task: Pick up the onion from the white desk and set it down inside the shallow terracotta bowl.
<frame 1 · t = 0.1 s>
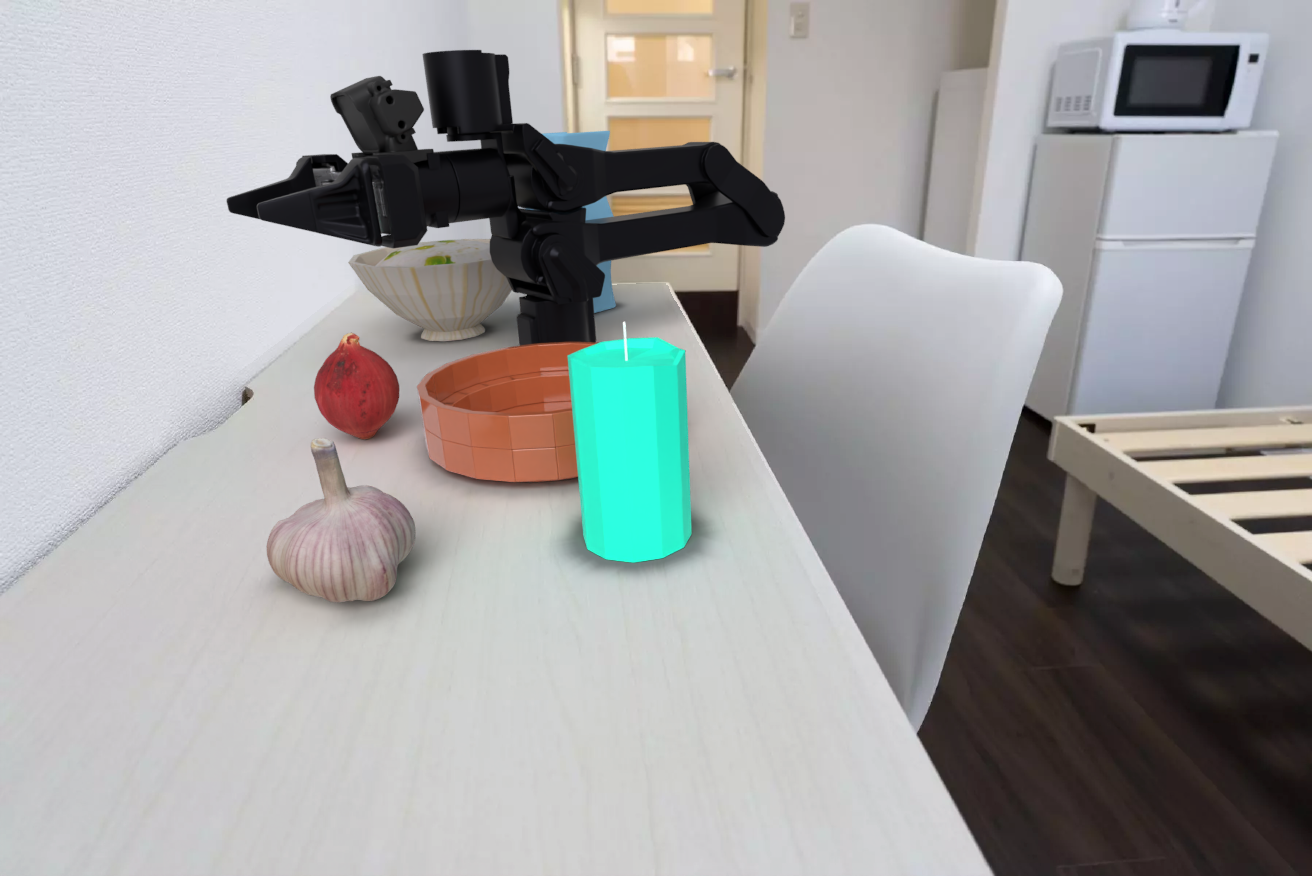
hand: (242, 208, 60), 17 cm above the table, tool horizontal, fingers open, 9 cm apart
onion: (366, 441, 62), on the table
vase: (575, 310, 101), on the table
garlic bulb: (349, 585, 43), on the table
bowl: (453, 334, 92), on the table
terracotta bowl: (550, 440, 60), on the table
candle: (637, 538, 46), on the table
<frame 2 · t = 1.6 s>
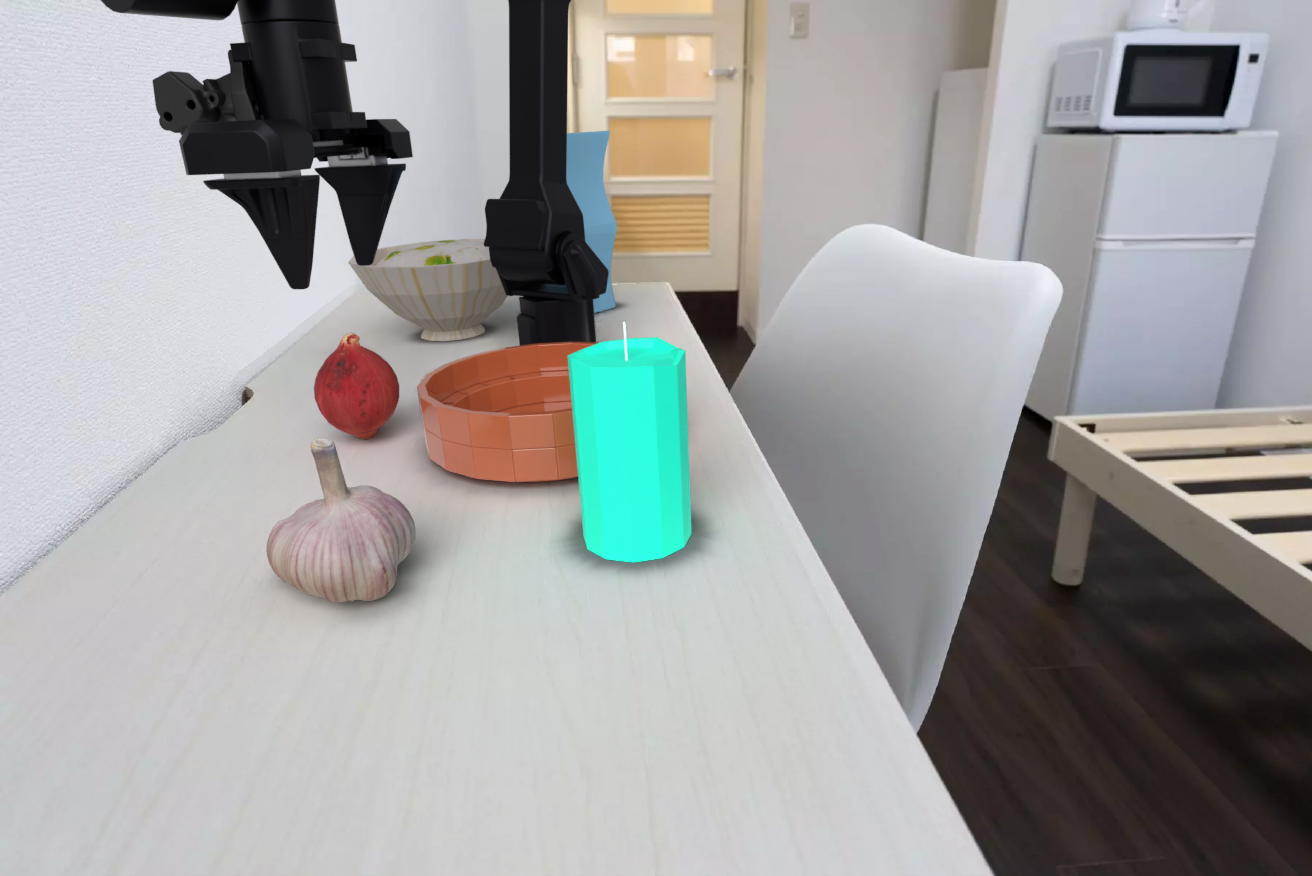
hand: (335, 276, 58), 12 cm above the table, tool pointing down, fingers open, 9 cm apart
nothing on the table moved.
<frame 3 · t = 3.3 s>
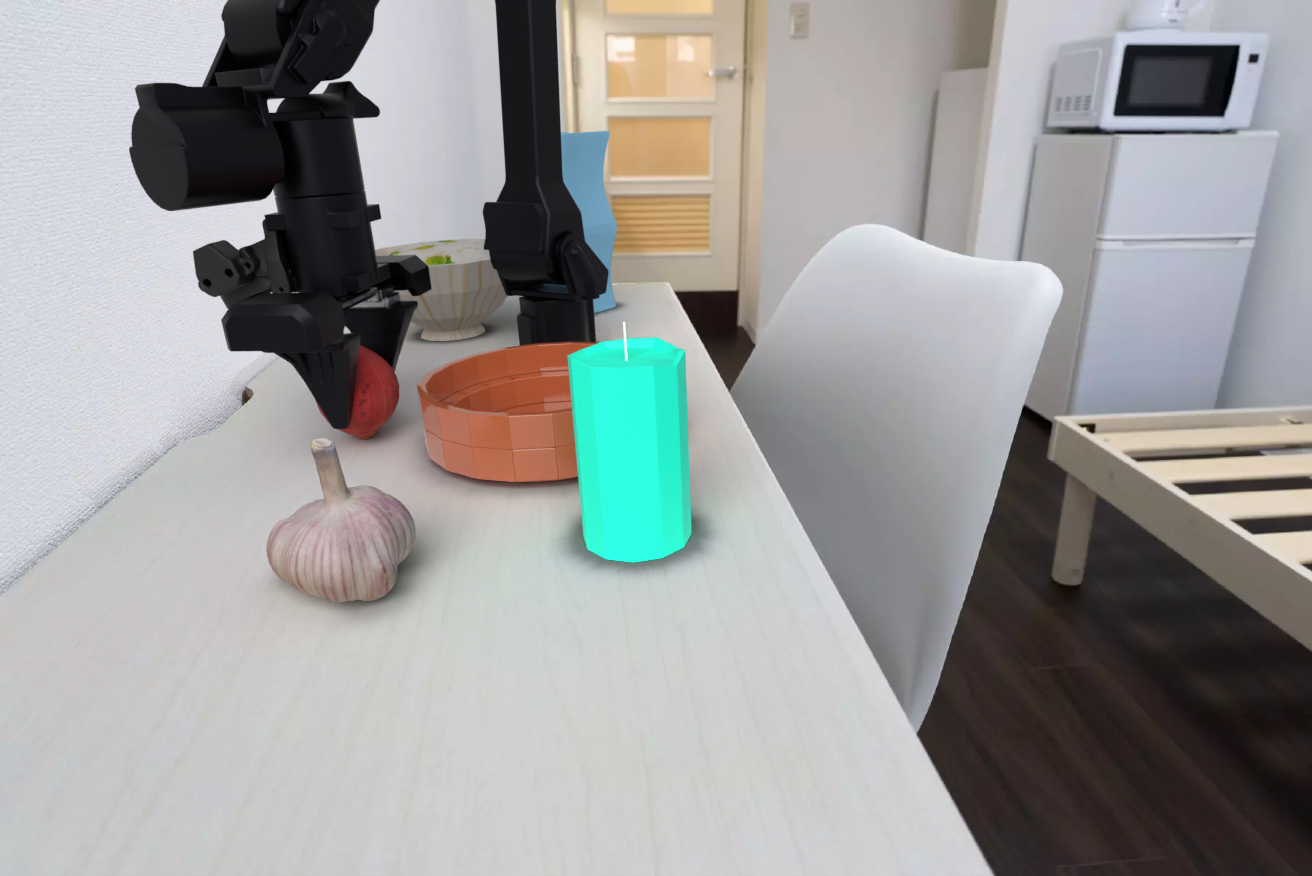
hand: (361, 413, 61), 2 cm above the table, tool pointing down, fingers closed on onion, 6 cm apart
onion: (366, 441, 62), on the table, touching gripper
everything else where it was.
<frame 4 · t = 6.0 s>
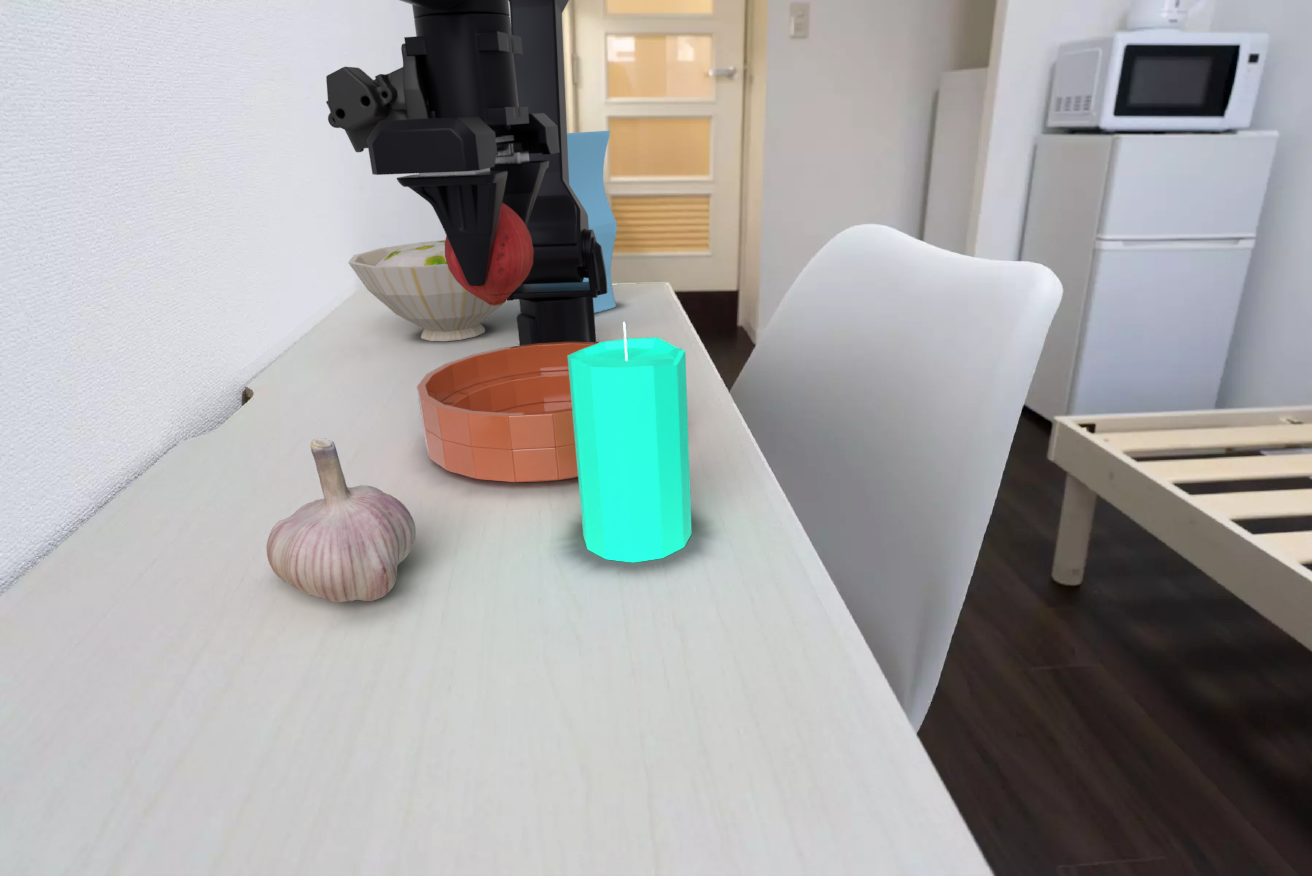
hand: (492, 276, 56), 12 cm above the table, tool pointing down, fingers closed on onion, 6 cm apart
onion: (496, 308, 57), point 10 cm above the table, touching gripper
everything else where it was.
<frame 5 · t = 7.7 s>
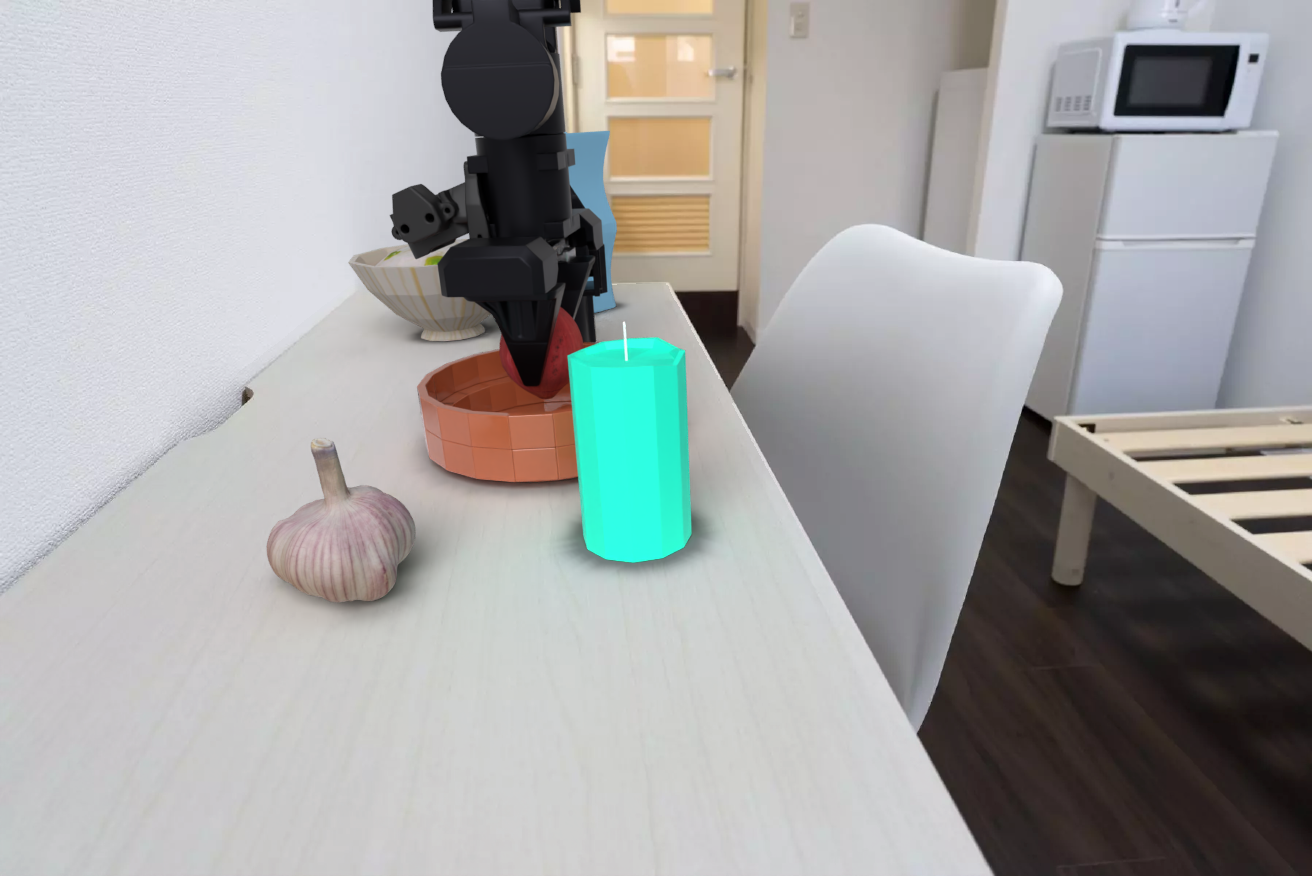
hand: (543, 371, 58), 5 cm above the table, tool pointing down, fingers closed on onion, 6 cm apart
onion: (546, 402, 59), point 3 cm above the table, touching gripper
everything else where it was.
when the fingers open (3 cm above the table, at t = 9.0 s): onion stays where it is, resting on terracotta bowl.
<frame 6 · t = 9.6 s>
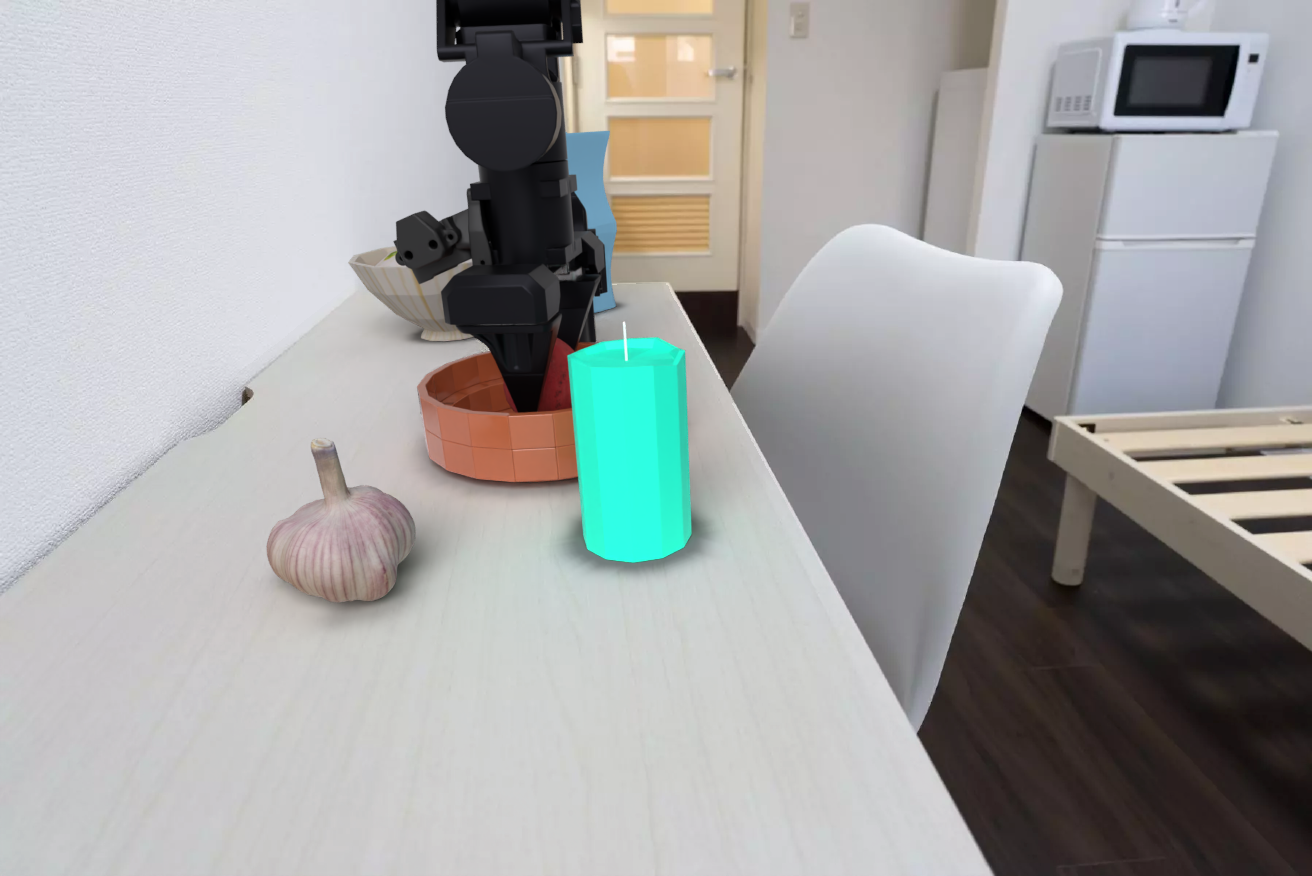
hand: (545, 394, 59), 3 cm above the table, tool pointing down, fingers open, 9 cm apart
onion: (550, 434, 60), resting on terracotta bowl
everything else where it was.
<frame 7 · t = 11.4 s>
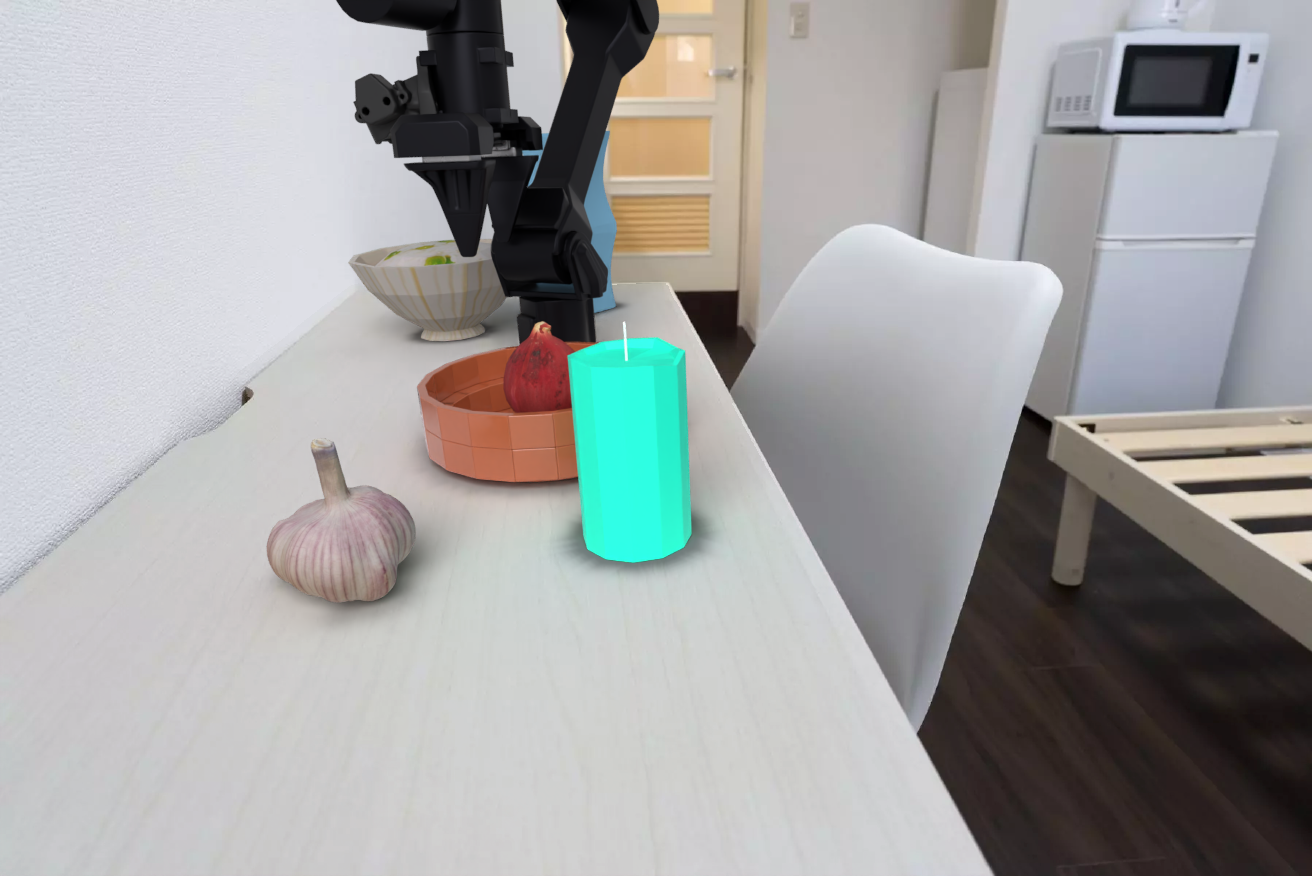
hand: (487, 249, 68), 12 cm above the table, tool pointing down, fingers open, 9 cm apart
nothing on the table moved.
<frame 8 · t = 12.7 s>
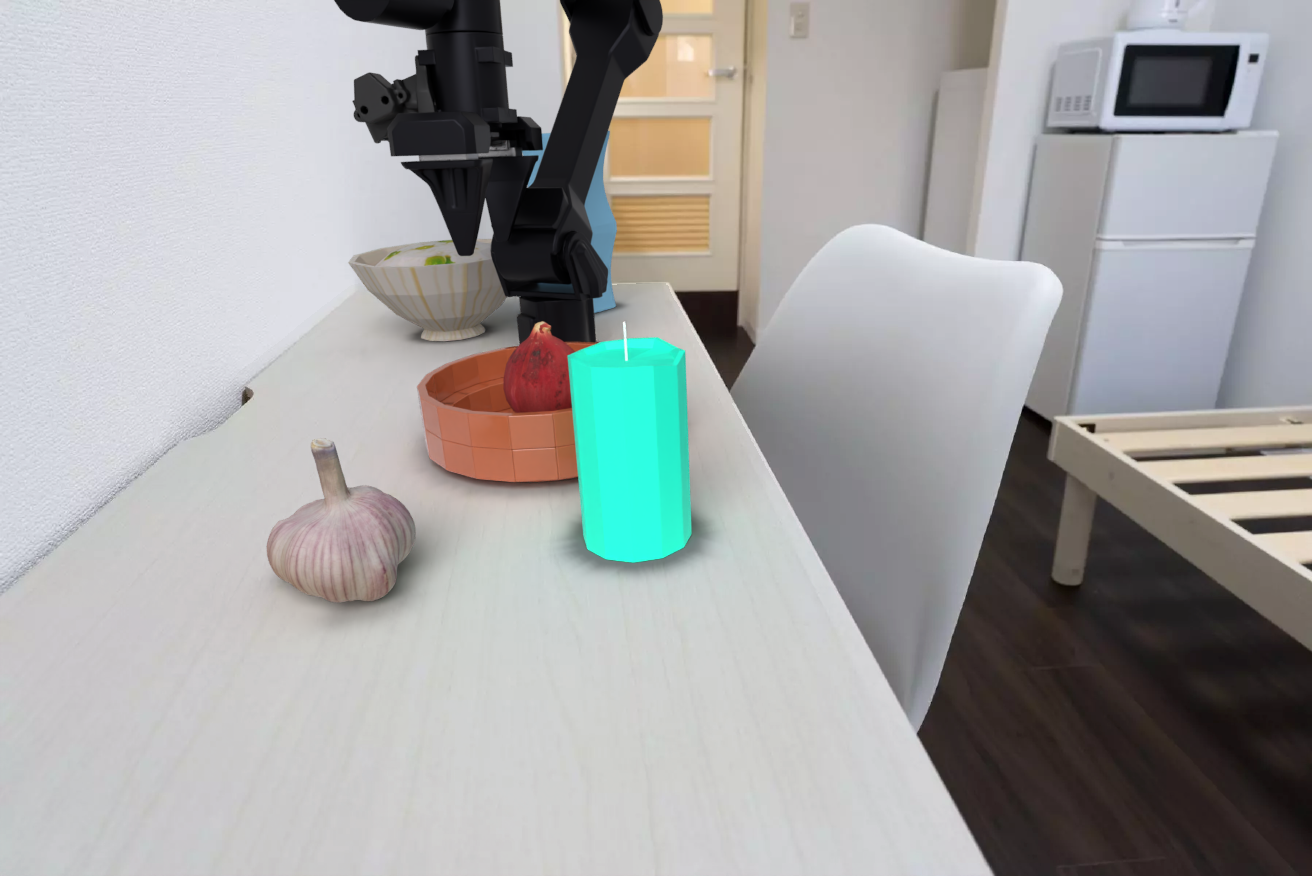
hand: (485, 248, 68), 12 cm above the table, tool pointing down, fingers open, 9 cm apart
nothing on the table moved.
at the end: onion inside the target area in the terracotta bowl (0.1 cm from its centre), point 0.4 cm above the terracotta bowl's base; the gripper is holding nothing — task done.
